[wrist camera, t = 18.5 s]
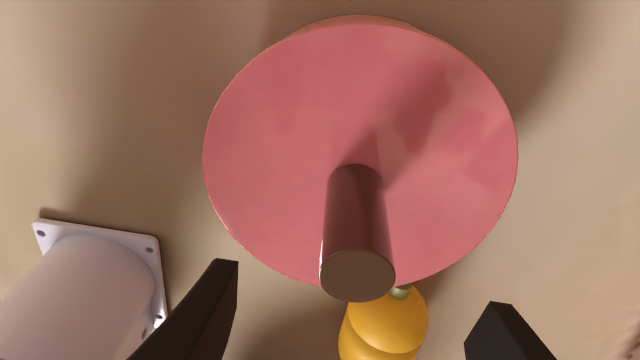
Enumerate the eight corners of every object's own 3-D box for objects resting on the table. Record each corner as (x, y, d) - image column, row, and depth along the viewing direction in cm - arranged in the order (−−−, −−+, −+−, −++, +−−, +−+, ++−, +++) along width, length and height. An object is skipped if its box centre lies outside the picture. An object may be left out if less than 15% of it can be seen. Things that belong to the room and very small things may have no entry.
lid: (446, 290, 20) (479, 409, 15) (211, 254, 20) (164, 362, 15) (570, 51, 13) (712, 122, 8) (207, -14, 13) (113, 18, 8)
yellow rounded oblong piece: (394, 335, 28) (408, 404, 24) (330, 331, 28) (333, 400, 24) (431, 252, 24) (456, 321, 19) (354, 245, 23) (363, 313, 19)
